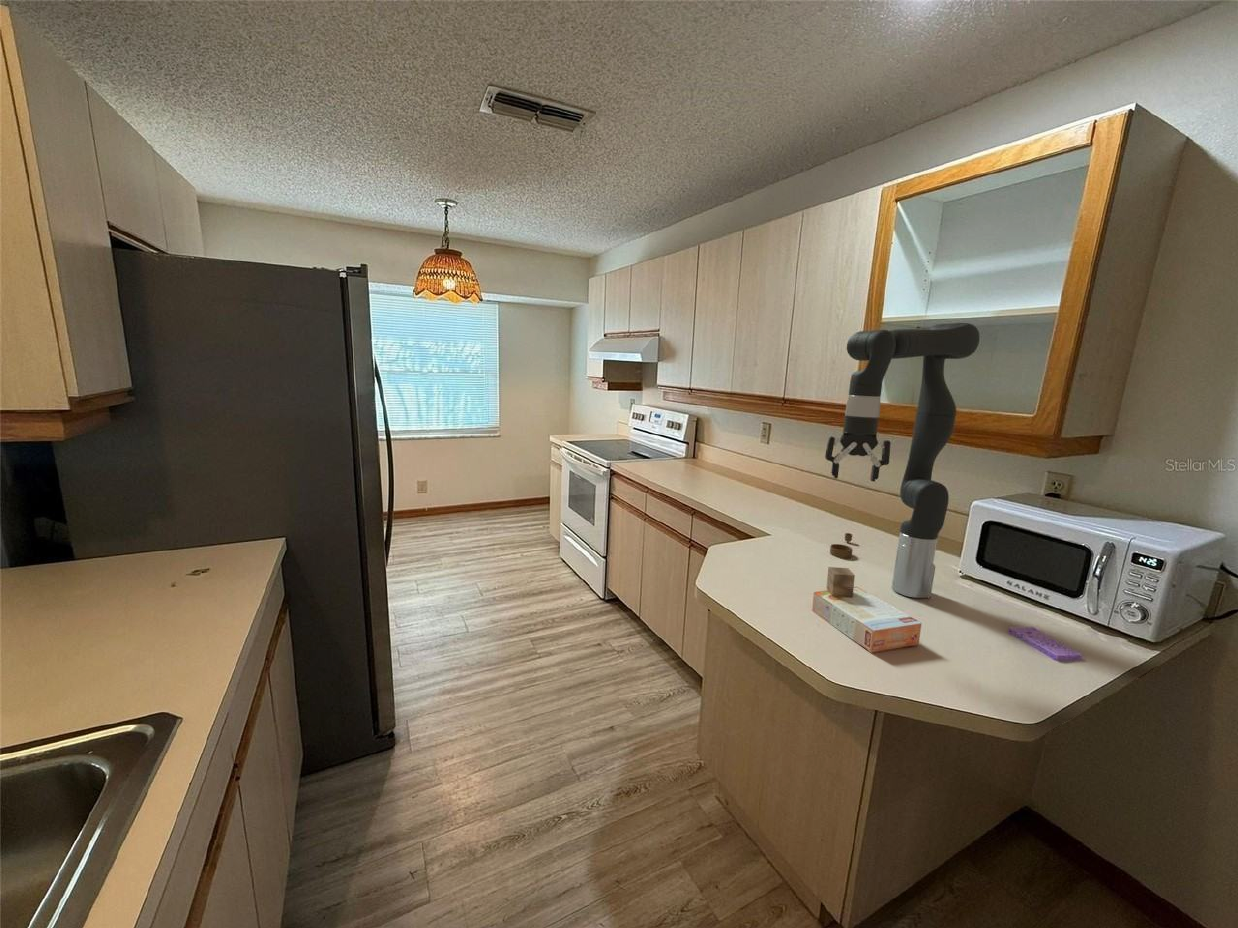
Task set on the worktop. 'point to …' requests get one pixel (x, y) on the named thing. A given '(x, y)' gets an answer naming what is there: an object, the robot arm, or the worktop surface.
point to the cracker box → (868, 620)
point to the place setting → (842, 548)
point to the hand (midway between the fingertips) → (853, 479)
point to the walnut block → (840, 582)
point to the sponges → (1045, 644)
